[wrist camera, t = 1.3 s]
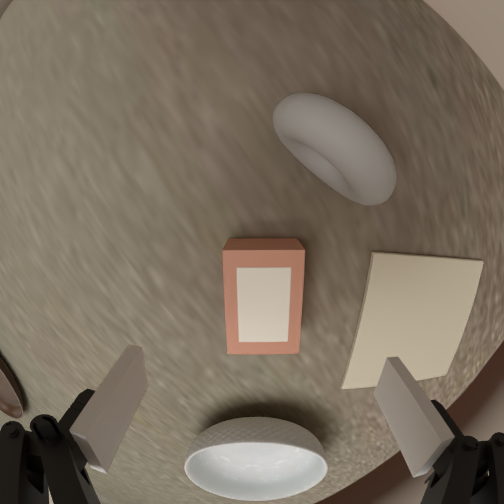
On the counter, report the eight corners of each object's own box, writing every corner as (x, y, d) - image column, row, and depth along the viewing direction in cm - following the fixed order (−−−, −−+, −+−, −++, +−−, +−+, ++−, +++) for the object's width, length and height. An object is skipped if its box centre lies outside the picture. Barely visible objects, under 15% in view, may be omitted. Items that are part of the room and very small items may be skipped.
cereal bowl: (179, 447, 32) (169, 483, 25) (218, 377, 28) (210, 423, 21) (282, 473, 33) (284, 507, 27) (344, 414, 30) (357, 454, 23)
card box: (228, 238, 25) (222, 250, 20) (296, 237, 25) (305, 250, 20) (231, 328, 27) (227, 354, 22) (292, 327, 27) (298, 353, 22)
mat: (371, 251, 25) (374, 253, 24) (480, 260, 25) (483, 261, 24) (340, 385, 28) (341, 389, 28) (443, 372, 28) (445, 375, 28)
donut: (370, 181, 23) (433, 183, 13) (347, 209, 24) (400, 227, 14) (286, 105, 22) (304, 59, 12) (260, 134, 22) (263, 101, 13)
